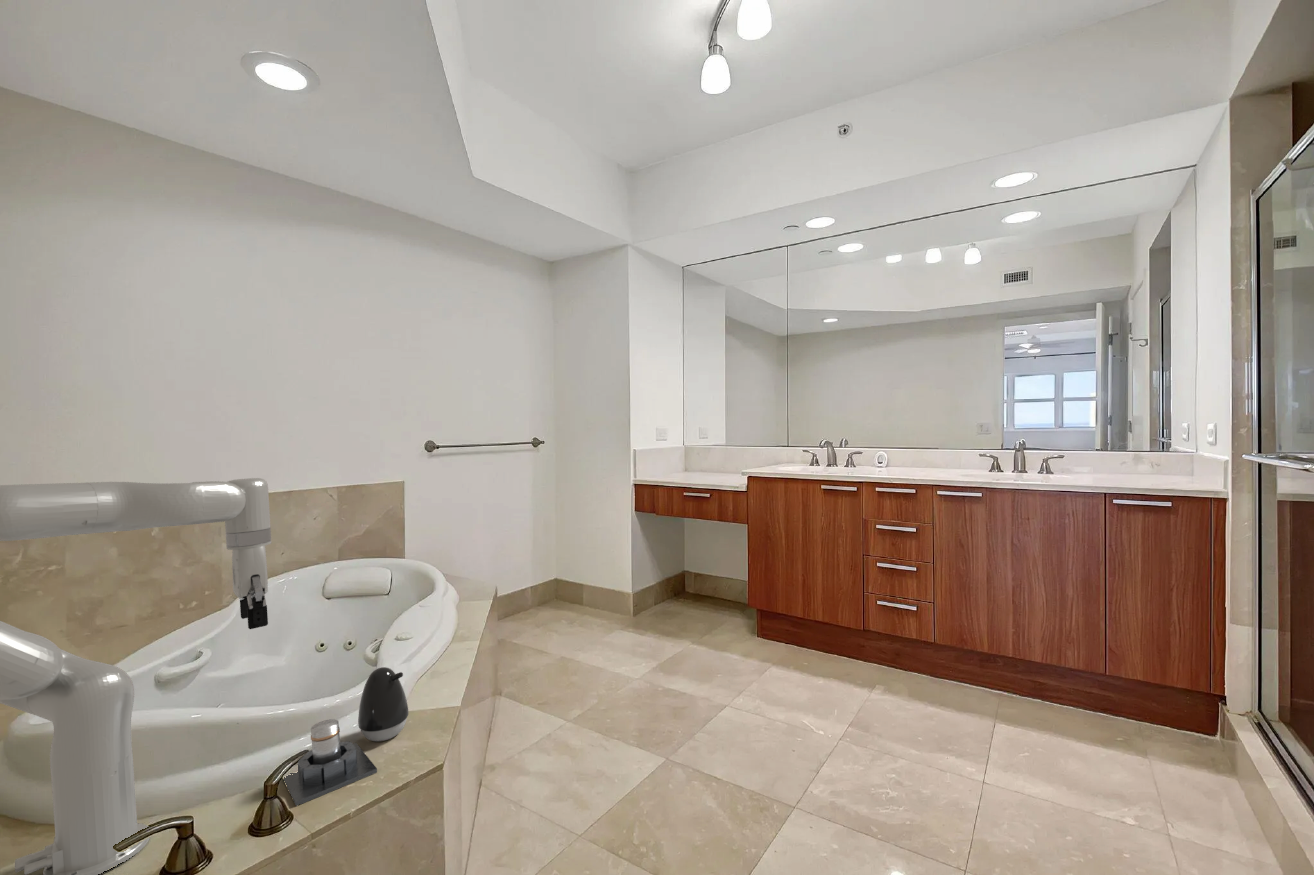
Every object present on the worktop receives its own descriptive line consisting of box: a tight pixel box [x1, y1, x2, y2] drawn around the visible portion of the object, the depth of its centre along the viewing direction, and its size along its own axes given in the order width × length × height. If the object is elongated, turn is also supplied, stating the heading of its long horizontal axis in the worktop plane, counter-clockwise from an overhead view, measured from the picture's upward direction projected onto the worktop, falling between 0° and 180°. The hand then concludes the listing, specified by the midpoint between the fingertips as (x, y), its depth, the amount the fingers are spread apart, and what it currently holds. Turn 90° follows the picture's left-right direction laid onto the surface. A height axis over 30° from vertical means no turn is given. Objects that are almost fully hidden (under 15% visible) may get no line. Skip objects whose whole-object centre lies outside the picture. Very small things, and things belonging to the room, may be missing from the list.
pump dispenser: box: [357, 666, 409, 742], centre depth 129 cm, size 10×10×15 cm
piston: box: [310, 718, 342, 765], centre depth 115 cm, size 5×5×9 cm
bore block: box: [283, 741, 378, 807], centre depth 115 cm, size 14×14×4 cm
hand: (254, 621), depth 118 cm, fingers open, 9 cm apart
